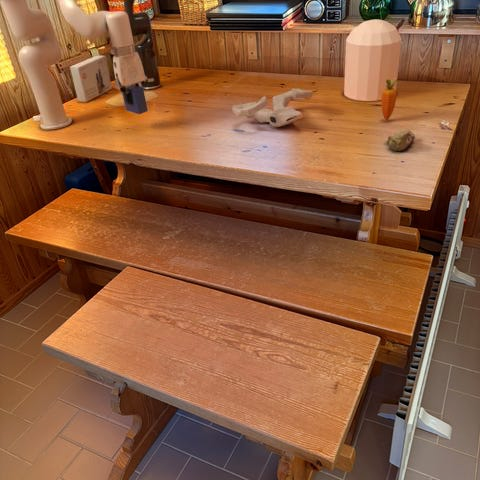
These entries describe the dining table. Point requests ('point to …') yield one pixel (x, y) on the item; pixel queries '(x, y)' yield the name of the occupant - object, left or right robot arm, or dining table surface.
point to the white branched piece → (280, 112)
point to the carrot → (388, 99)
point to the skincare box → (91, 78)
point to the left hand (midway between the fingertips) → (134, 101)
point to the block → (136, 100)
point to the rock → (400, 140)
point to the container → (371, 60)
